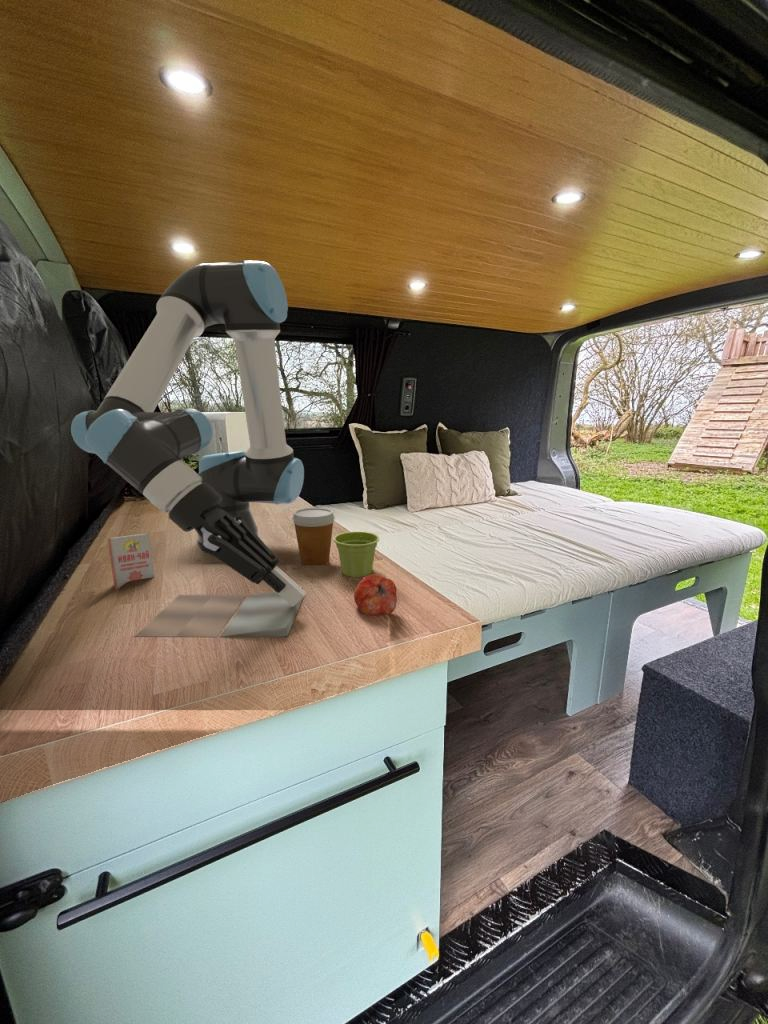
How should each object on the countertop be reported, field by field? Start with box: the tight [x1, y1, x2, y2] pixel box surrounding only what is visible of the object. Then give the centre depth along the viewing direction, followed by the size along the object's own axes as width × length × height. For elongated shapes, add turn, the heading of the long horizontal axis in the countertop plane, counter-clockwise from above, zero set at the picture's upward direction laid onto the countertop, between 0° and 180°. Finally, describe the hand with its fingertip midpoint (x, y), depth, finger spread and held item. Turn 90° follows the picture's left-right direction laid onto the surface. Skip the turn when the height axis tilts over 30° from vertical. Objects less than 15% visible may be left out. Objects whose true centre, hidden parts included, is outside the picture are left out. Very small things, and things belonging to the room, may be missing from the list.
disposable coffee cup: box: [291, 507, 336, 566], centre depth 92 cm, size 10×10×12 cm
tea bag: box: [107, 533, 155, 591], centre depth 80 cm, size 4×7×10 cm, turn 122°
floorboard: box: [134, 594, 247, 638], centre depth 67 cm, size 14×12×1 cm
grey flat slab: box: [219, 587, 304, 638], centre depth 67 cm, size 14×10×1 cm
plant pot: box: [333, 531, 380, 578], centre depth 85 cm, size 9×9×9 cm
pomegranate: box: [353, 573, 398, 616], centre depth 70 cm, size 7×7×10 cm
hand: (299, 599), depth 66 cm, fingers closed
